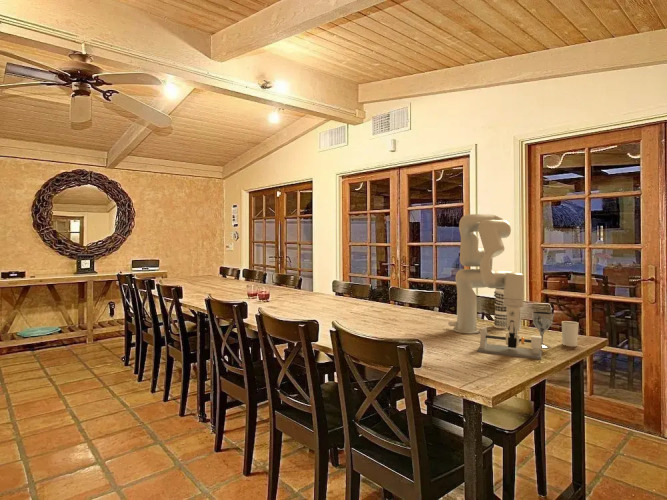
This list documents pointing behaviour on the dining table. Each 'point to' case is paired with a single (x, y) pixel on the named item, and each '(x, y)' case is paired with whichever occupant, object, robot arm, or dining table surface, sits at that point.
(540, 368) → the dining table surface
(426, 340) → the dining table surface
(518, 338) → the sleeve
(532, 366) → the dining table surface
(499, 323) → the decorative candle
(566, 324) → the beige cup
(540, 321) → the wine glass
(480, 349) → the board
